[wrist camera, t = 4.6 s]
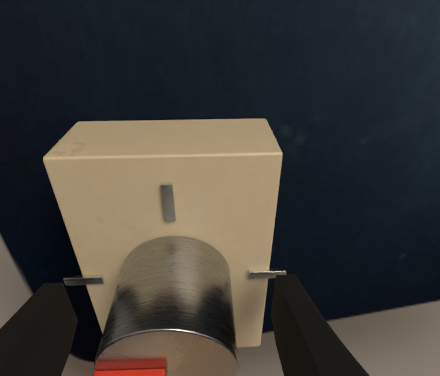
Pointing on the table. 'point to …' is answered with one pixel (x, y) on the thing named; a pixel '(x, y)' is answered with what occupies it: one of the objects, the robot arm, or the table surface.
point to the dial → (170, 313)
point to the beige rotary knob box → (170, 200)
